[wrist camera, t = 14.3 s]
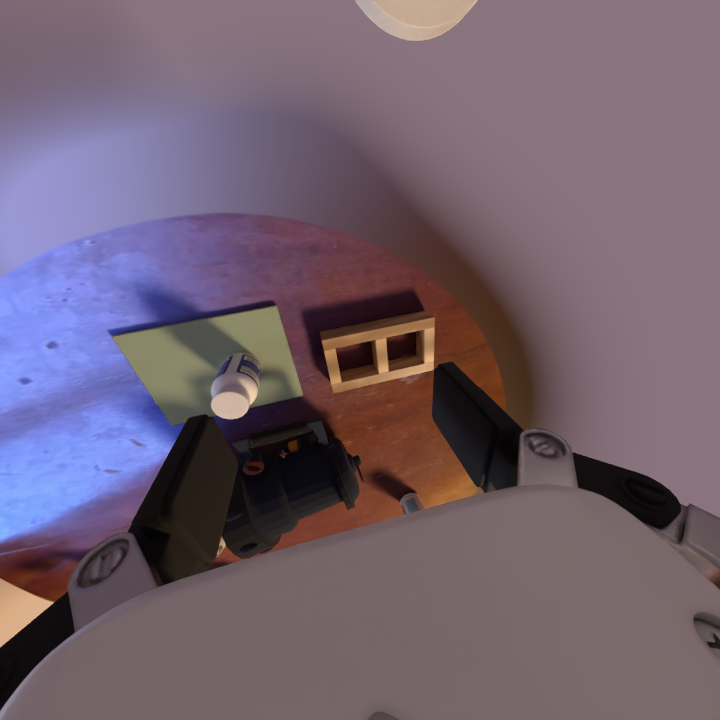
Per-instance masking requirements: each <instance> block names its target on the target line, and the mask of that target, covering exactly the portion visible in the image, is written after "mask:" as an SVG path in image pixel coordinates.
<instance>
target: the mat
mask: <svg viewBox="0 0 720 720" xmlns="http://www.w3.org/2000/svg"><path fill="white" fill-rule="evenodd" d="M112 338H113V340H114V341H115V343H116V344H117V345H118V347H119V348H120V350H121V351H122V353H123V354H124V356H125V357H126V359H127V360H128V362H129V363H130V365H131V366H132V368H133V369H134V371H135V372H136V374H137V375H138V377H139V378H140V380H141V381H142V383H143V384H144V386H145V387H146V389H147V390H148V392H149V393H150V395H151V396H152V398H153V399H154V401H155V402H156V404H157V405H158V407H159V408H160V410H161V411H162V413H163V414H164V415H165V417H166V418H167V420H168V421H169V423H170V424H171V426H174V425H178V424H183V423H186V421H187V419H188V418H190V417H193V416H198V415H203V414H207V415H208V416H209V417H213V416H217V415H216V414H215V413H214V412H213V410H212V408H211V401H212V398H213V397H212V394H211V387H212V384H213V382H214V380H215V378H216V376H217V374H218V372H219V370H220V368H221V366H222V364H223V362H224V360H225V359H226V358H227V357H228V356H230V355H231V354H234V353H248V354H251V355H253V356H254V357H256V358H257V359H258V360H259V362H260V363H261V366H262V375H261V380H260V384H259V389H258V394H257V397H256V399H255V401H254V402H253V403H252V404H251V405H249V408H252V407H256V406H261V405H265V404H269V403H274V402H278V401H282V400H287V399H291V398H295V397H300V396H303V392H302V389H301V385H300V382H299V379H298V375H297V372H296V369H295V365H294V362H293V358H292V355H291V352H290V348H289V345H288V342H287V338H286V335H285V332H284V328H283V325H282V322H281V318H280V315H279V312H278V308H277V305H273V306H268V307H263V308H257V309H252V310H246V311H241V312H236V313H230V314H225V315H219V316H214V317H209V318H203V319H198V320H192V321H187V322H182V323H176V324H171V325H165V326H160V327H155V328H149V329H144V330H138V331H133V332H128V333H122V334H117V335H114V336H112Z"/></svg>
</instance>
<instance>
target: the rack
mask: <svg viewBox="0 0 720 720" xmlns="http://www.w3.org/2000/svg"><path fill="white" fill-rule="evenodd" d="M434 324H435V317H434V316H432V315H431V314H429V313H428V312H426V311H421V312H416V313H411V314H406V315H401V316H396V317H391V318H386V319H381V320H376V321H371V322H366V323H361V324H356V325H351V326H346V327H342V328H337V329H332V330H327V331H322V332H320V336H321V341H322V345H323V350H324V354H325V359H326V363H327V367H328V372H329V376H330V381H331V385H332V390H333V393H337V392H341V391H345V390H349V389H354V388H358V387H362V386H367V385H371V384H375V383H379V382H384V381H388V380H392V379H397V378H401V377H405V376H409V375H414V374H418V373H422V372H427V371H431V370H434ZM414 331H416V355H412V356H408V357H403V358H399V359H394V360H390V361H388V355H387V343H386V337H391V336H395V335H400V334H405V333H410V332H414ZM367 341H371V345H372V354H373V362H374V364H372V365H368V366H363V367H359V368H354V369H350V370H345V371H341V372H340V371H339V366H338V360H337V355H336V350H335V348H339V347H343V346H348V345H353V344H358V343H362V342H367Z"/></svg>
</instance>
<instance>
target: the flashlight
mask: <svg viewBox="0 0 720 720" xmlns="http://www.w3.org/2000/svg"><path fill="white" fill-rule="evenodd" d="M311 429H313V431H314V432H315V433H313V434H310V435H305V436H302V437H300V438H299V439H297V440H294V441H291V442H288V445H287V444H286V445H285V446H284V449H283V450H282V453H283V454H285V458H284V459H283V458H282V457H281V456H280V455H273V456H269V457H265V458H262V457H261V453H259V452H256V451H255V452H252V451H251V450H250V449H249V447H251V448H254V447H257V446H261V445H265V444H270V443H275V442H278V441H282V440H284V439H287V438H290V437H292V436H296V435H300V434H304V433H308V432H310V431H311ZM232 445H233V446H234V447H235V448H236V449H237V450H238V451H239V452H240V453H241V454H242V455H241V456H239V457H237V458H236V459H237V462H238V470H237V474H236V478H235V482H234V486H233V491H232V495H231V499H230V503H229V507H228V511H227V516H226V520H225V524H224V528H223V532H222V538H223V540H224V542H225V544H226V546H227V547H228V548H229V549H230V550H231V552H232V553H233V554H234V555H236V556H238V557H240V558H250V557H252V556H254V555H256V554H258V553H260V554H262V553H265V552H267V551H269V550H271V549H272V548H273V547H274V546H275V545H276V544H277V543H278V542H279V540H280V537H281V534H284V533H287V532H289V531H292V530H293V529H294V528H295V527H296V526H297V523H298V520H300V519H302V518H304V517H307V516H309V515H312V514H314V513H316V512H319V511H321V510H324V509H326V508H328V507H331V506H333V505H336V504H338V503H340V502H343V501H344V503H345V505H346V508H347V510H349V509H351V508H353V507H355V504H354V501H355V500H356V498H357V497H358V495H359V485H358V481H357V478H356V475H355V473H356V466H357V469H358V472H359V475H360V477H361V480H362V482H363V478H362V475H361V472H360V469H359V466H358V465H361V461H360V458H359V456H358V455H357V456H354V457H352V456H351V455H350V454H348V453H347V451H346V449H345V447H344V445H343V444H342V442H341V441H340V440H339V439H337V438H334V437H332V436H331V434H327V435H326V433H325V430H324V427H323V424H322V421H321V419H319V420H315V421H311V422H307V421H306V420H305V421H301V422H297V423H293V424H288V425H284V426H280V427H276V428H272V429H268V430H264V431H260V432H256V433H252V434H250V435H249V437H247V438H244V439H240V440H236V441H233V443H232ZM284 450H285V453H284V452H283V451H284ZM289 452H291V453H289Z"/></svg>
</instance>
